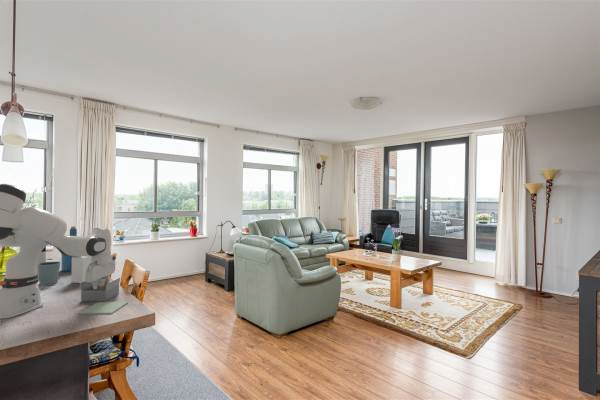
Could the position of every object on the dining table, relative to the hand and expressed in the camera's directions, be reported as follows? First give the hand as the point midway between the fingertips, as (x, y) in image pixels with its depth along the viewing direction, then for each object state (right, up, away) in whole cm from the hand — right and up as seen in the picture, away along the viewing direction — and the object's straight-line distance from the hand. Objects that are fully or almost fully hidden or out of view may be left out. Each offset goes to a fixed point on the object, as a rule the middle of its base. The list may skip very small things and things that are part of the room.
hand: (100, 286), depth 162 cm
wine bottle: (-55, -4, +57) cm, 80 cm away
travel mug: (-59, -4, +34) cm, 68 cm away
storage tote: (0, -6, 0) cm, 6 cm away
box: (0, -6, 0) cm, 6 cm away
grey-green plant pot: (-45, -5, +23) cm, 51 cm away
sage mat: (+12, -6, -15) cm, 20 cm away
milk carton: (-29, -5, +28) cm, 41 cm away
